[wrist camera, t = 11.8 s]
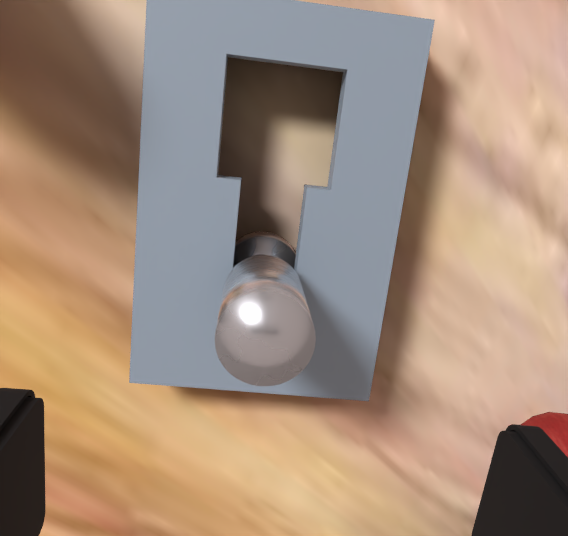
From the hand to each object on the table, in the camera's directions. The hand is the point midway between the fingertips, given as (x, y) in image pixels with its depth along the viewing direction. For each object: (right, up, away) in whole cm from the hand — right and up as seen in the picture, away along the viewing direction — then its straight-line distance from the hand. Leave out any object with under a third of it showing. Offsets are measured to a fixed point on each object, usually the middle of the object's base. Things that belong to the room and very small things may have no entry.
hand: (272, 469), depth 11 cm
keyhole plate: (-1, +7, +17) cm, 18 cm away
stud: (-1, +4, +18) cm, 18 cm away
